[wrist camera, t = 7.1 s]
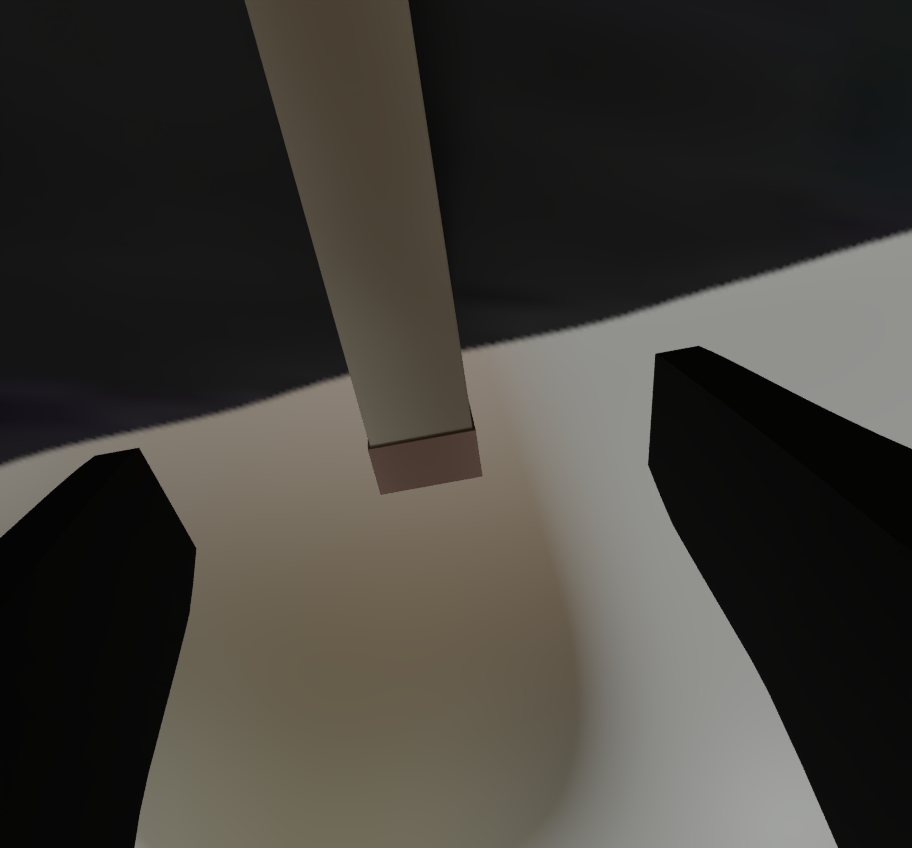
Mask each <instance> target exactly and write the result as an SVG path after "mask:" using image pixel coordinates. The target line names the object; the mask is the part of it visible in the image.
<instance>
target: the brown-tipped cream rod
mask: <svg viewBox="0 0 912 848" xmlns="http://www.w3.org/2000/svg"><path fill="white" fill-rule="evenodd" d="M245 3H246V7H247V10H248V14H249V17H250V21H251V24H252V28H253V32H254V35H255V39H256V42H257V46H258V49H259V53H260V56H261V60H262V64H263V67H264V71H265V74H266V78H267V81H268V85H269V88H270V92H271V96H272V99H273V103H274V106H275V110H276V113H277V117H278V120H279V124H280V128H281V131H282V135H283V138H284V142H285V145H286V149H287V152H288V156H289V160H290V163H291V167H292V170H293V174H294V177H295V181H296V184H297V188H298V192H299V195H300V199H301V202H302V206H303V209H304V213H305V216H306V220H307V224H308V227H309V231H310V234H311V238H312V241H313V245H314V248H315V252H316V256H317V259H318V263H319V266H320V270H321V273H322V277H323V280H324V284H325V288H326V291H327V295H328V298H329V302H330V305H331V309H332V312H333V316H334V320H335V323H336V327H337V330H338V334H339V337H340V341H341V344H342V348H343V352H344V355H345V359H346V362H347V366H348V369H349V373H350V376H351V380H352V384H353V387H354V390H355V394H356V398H357V401H358V405H359V408H360V412H361V415H362V419H363V423H364V426H365V430H366V433H367V437H368V452H369V455H370V459H371V462H372V466H373V469H374V473H375V476H376V480H377V483H378V487H379V490H380V494H381V495H382V494H387V493H393V492H398V491H403V490H409V489H415V488H420V487H426V486H431V485H436V484H442V483H448V482H453V481H459V480H464V479H470V478H475V477H480V476H482V470H481V464H480V457H479V450H478V443H477V436H476V430H475V426H474V421H473V417H472V413H471V409H470V405H469V400H468V395H467V388H466V382H465V375H464V368H463V361H462V355H461V348H460V342H459V335H458V328H457V322H456V315H455V308H454V302H453V295H452V288H451V282H450V275H449V269H448V262H447V255H446V249H445V242H444V235H443V229H442V222H441V215H440V209H439V202H438V195H437V189H436V182H435V176H434V169H433V162H432V156H431V149H430V142H429V136H428V129H427V122H426V116H425V109H424V103H423V96H422V89H421V83H420V76H419V69H418V63H417V56H416V49H415V43H414V36H413V29H412V23H411V16H410V10H409V3H408V0H245Z"/></svg>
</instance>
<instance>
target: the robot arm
mask: <svg viewBox="0 0 912 848" xmlns="http://www.w3.org/2000/svg"><path fill="white" fill-rule="evenodd" d="M649 445H650V446H649V460H648V466H649V468H650V471H651V473H652V476H653V478H654V481H655V483H656V486H657V488H658V491H659V493H660V496H661V498H662V501H663V503H664V505H665V508H666V510H667V512H668V514H669V517H670V519H671V521H672V524H673V526H674V527H675V529H676V531H677V533H678V535H679V536H680V538H681V540H682V542H683V543H684V545H685V547H686V549H687V550H688V552H689V554H690V556H691V557H692V559H693V561H694V562H695V564H696V566H697V568H698V569H699V571H700V573H701V574H702V576H703V578H704V579H705V581H706V583H707V585H708V586H709V588H710V590H711V592H712V593H713V595H714V597H715V598H716V600H717V602H718V604H719V605H720V607H721V609H722V610H723V612H724V614H725V615H726V617H727V619H728V621H729V622H730V624H731V626H732V627H733V629H734V631H735V633H736V634H737V636H738V638H739V639H740V641H741V643H742V645H743V646H744V648H745V650H746V651H747V653H748V655H749V656H750V658H751V660H752V662H753V663H754V666H755V667H756V669H757V671H758V673H759V675H760V677H761V679H762V681H763V683H764V684H765V686H766V688H767V690H768V692H769V694H770V696H771V698H772V701H773V703H774V705H775V707H776V709H777V711H778V714H779V716H780V718H781V720H782V722H783V724H784V727H785V729H786V731H787V733H788V735H789V737H790V740H791V742H792V744H793V746H794V748H795V750H796V753H797V755H798V757H799V759H800V761H801V764H802V766H803V768H804V770H805V773H806V775H807V777H808V780H809V782H810V784H811V786H812V789H813V791H814V793H815V796H816V798H817V800H818V802H819V805H820V807H821V810H822V812H823V814H824V816H825V819H826V821H827V823H828V826H829V828H830V830H831V832H832V835H833V837H834V839H835V842H836V844H837V846H838V848H912V449H911V448H908V447H906V446H904V445H901V444H899V443H897V442H895V441H892V440H890V439H888V438H886V437H883V436H881V435H879V434H876V433H875V432H872V431H870V430H868V429H866V428H864V427H862V426H859V425H858V424H855V423H853V422H851V421H849V420H847V419H845V418H843V417H841V416H839V415H837V414H835V413H832V412H831V411H828V410H826V409H824V408H822V407H820V406H818V405H816V404H814V403H812V402H810V401H808V400H806V399H804V398H803V397H801V396H799V395H797V394H794V393H792V392H791V391H789V390H787V389H785V388H783V387H781V386H779V385H777V384H775V383H773V382H771V381H769V380H767V379H765V378H764V377H762V376H760V375H758V374H755V373H754V372H752V371H750V370H748V369H746V368H744V367H742V366H740V365H738V364H736V363H734V362H732V361H730V360H728V359H726V358H724V357H722V356H720V355H718V354H716V353H714V352H712V351H709V350H707V349H705V348H702V347H700V346H696V347H690V348H685V349H679V350H674V351H668V352H663V353H657V354H656V355H655V368H654V383H653V399H652V415H651V430H650V444H649ZM195 557H196V547H195V546H194V544H193V542H192V540H191V538H190V536H189V535H188V533H187V531H186V529H185V528H184V526H183V524H182V522H181V521H180V519H179V517H178V515H177V514H176V512H175V510H174V508H173V507H172V505H171V503H170V501H169V500H168V498H167V496H166V494H165V493H164V491H163V489H162V487H161V486H160V484H159V482H158V480H157V479H156V477H155V475H154V473H153V472H152V470H151V468H150V466H149V464H148V463H147V461H146V459H145V458H144V456H143V454H142V452H141V450H140V449H139V448H135V449H130V450H124V451H119V452H113V453H108V454H102V455H97V456H94V457H93V458H91V459H90V460H89V461H88V462H86V463H85V464H83V465H82V466H81V467H80V468H78V469H77V470H76V471H75V472H74V473H72V474H71V475H70V476H69V477H68V478H66V480H64V481H63V482H62V483H61V484H60V485H58V486H57V487H56V488H55V489H54V490H53V491H52V492H50V493H49V494H48V495H47V496H46V497H45V498H44V499H43V500H42V501H41V502H39V503H38V504H37V505H36V506H35V507H34V508H33V509H32V510H31V511H29V513H27V514H26V515H25V516H24V517H23V518H22V519H21V520H20V521H18V523H16V524H15V525H14V526H13V527H12V528H11V529H10V530H9V531H7V532H6V533H5V534H4V535H3V536H2V537H1V538H0V848H134V846H135V840H136V834H137V826H138V821H139V815H140V810H141V805H142V800H143V796H144V791H145V787H146V782H147V777H148V773H149V769H150V765H151V761H152V758H153V754H154V750H155V746H156V742H157V739H158V734H159V731H160V727H161V723H162V719H163V715H164V711H165V708H166V704H167V700H168V697H169V693H170V689H171V685H172V681H173V677H174V674H175V670H176V666H177V662H178V658H179V653H180V650H181V646H182V642H183V638H184V634H185V629H186V626H187V621H188V617H189V612H190V604H191V596H192V589H193V579H194V568H195Z"/></svg>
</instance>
